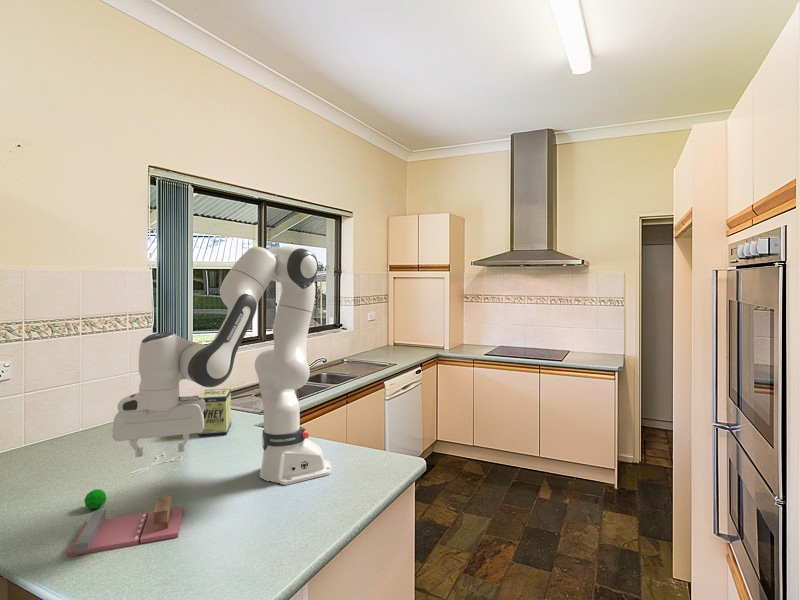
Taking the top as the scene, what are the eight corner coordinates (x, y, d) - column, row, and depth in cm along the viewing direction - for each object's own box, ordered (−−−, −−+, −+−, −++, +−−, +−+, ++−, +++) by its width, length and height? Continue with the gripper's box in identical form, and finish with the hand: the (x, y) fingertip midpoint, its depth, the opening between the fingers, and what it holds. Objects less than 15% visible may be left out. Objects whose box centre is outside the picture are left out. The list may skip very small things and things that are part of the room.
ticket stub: (183, 509, 124) (182, 489, 124) (178, 536, 111) (177, 514, 111) (149, 515, 122) (149, 494, 121) (140, 543, 109) (139, 520, 108)
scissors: (187, 455, 163) (138, 478, 144) (187, 457, 163) (138, 480, 144) (164, 452, 166) (113, 473, 147) (164, 454, 166) (113, 476, 147)
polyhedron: (102, 501, 130) (102, 484, 129) (109, 507, 126) (108, 489, 126) (82, 508, 126) (81, 491, 125) (88, 514, 123) (87, 496, 122)
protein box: (198, 437, 182) (197, 398, 181) (205, 425, 197) (204, 389, 196) (226, 435, 184) (226, 396, 183) (231, 423, 199) (230, 387, 199)
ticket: (148, 514, 123) (148, 502, 122) (137, 546, 108) (137, 533, 107) (86, 523, 118) (85, 512, 118) (65, 559, 103) (65, 546, 103)
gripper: (205, 392, 122) (206, 444, 122) (115, 399, 115) (117, 454, 115) (204, 397, 116) (205, 452, 116) (109, 405, 109) (111, 463, 109)
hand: (160, 453), depth 116 cm, fingers open, 8 cm apart
